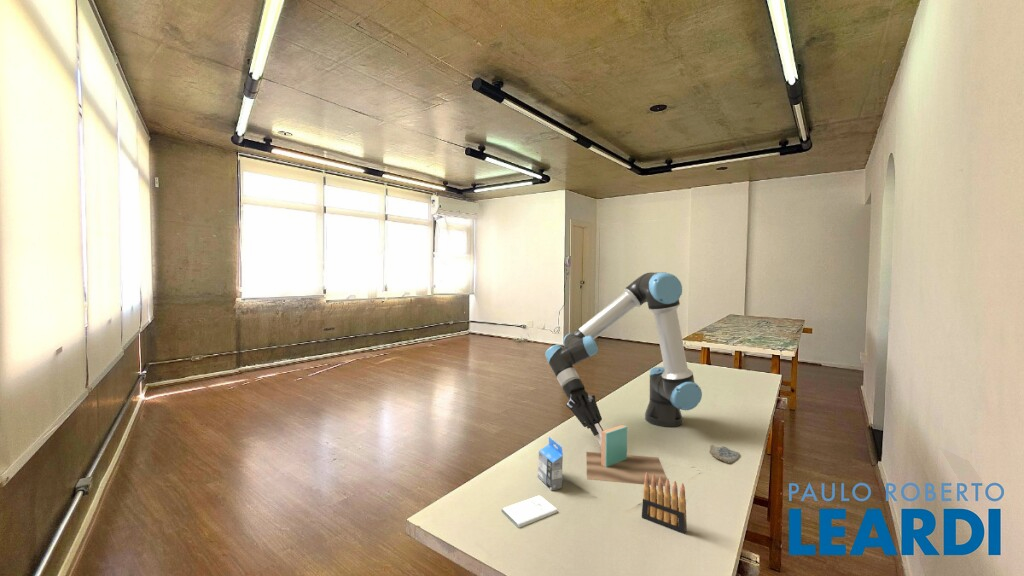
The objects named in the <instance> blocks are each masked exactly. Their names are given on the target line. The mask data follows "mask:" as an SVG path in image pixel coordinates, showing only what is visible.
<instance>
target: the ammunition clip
mask: <svg viewBox="0 0 1024 576" xmlns="http://www.w3.org/2000/svg"><path fill="white" fill-rule="evenodd" d="M642 489H643V490H642V491H643V492H642V493H643V495H642V496H643V497H642V505H641V507H642V508H641V518H642V519H643V520H646V521H649V522H651V523H654V524H657V525H659V526H661V527H665V528H667V529H670V530H673V531H675V532H677V533H680V534H683V535H686V534H687V533H686V532H687V529H688V528H687V500H686V488H685V485H684V483H683V482H682V483H681V485H680V489H679V491H678V484H677V482H676V480H674V481H673V484H672V488H671V484H670V480H669V478H667V480H666V484H665V486H663V481H662V477H661V476H660V478H659V481H658V486H656V478H655V475H654V474H653V476H652V480H651V485H649V475H648V473H647V472H646V475H645V481H644V484H643V488H642ZM671 489H672V490H671ZM678 492H679V494H678Z"/></svg>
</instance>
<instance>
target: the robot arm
mask: <svg viewBox="0 0 1024 576" xmlns="http://www.w3.org/2000/svg"><path fill="white" fill-rule="evenodd" d="M682 294H683V285H682V282H681V281H680V278H678V277H677V276H676V275H674V274H672V273H669V272H666V271H665V272H664V271H661V272H657V271H656V272H653V271H652V272H647V273H643V274H642V275H640V276H638V277H637V278H636V279H635V280H633V281H632V282H631V283H630V284H629V285H628V286H626V287H625V288H624V289H623V292H622V294H620V295H619V296H618V297H616V298H615V299H614V300H612V301H611V302H610V303H609V304H607V305H606V306H605V307H604V308H602V309H601V310H600V311H599V312H598V313H596V314H595V315H593V316H592V317H591V318H590V319H589V320H587V321H586V322H585V323H584V324H583V325H581V326H580V327H579V328H577V329H576V330H575V331H574V332H571V333H567V334H566V335H565V336H564V337H563V340H562V344H563V346H564V347H563V346H562V345H561V344H558V343H557V344H554V345H552V346H550V347H549V348H547V350H546V351H545V353H544V354H545V355H544V356H545V358H546V361H547V362H548V365H549V367H550V368H551V370H552V371H553V373H554V375H555V378H556V379H557V381H558V383H559V385H560V387H562V390H563V392H564V394H565V396H566V397H567V398H568V402H567V403H566V404H565V406H566V407H567V408H568V409H569V410H570V411H571V412H572V413H573V414H574V416H575V417H576V419H577V420H578V422H580V424H581V425H582V426H583V427H584V428H587V429H588V430H589V429H590V431H591V433H592V434H593V436H594V437H595V438H596V439H597V441H598V444H599V445H600V446H601V436H602V431H604V429H603V428H602V425H601V424H600V423H601V421H602V420H603V418H602V415H601V412H600V410H599V407H598V405H597V402H596V396H595V395H590V394H589V393H588V392H587V391H586V389H585V387H586V386H585V385H584V383H583V381H582V380H581V379H580V376H579V374H578V373H577V372H578V371H576V369H575V368H574V366H575V365H576V364H578V363H580V362H583V361H585V360H587V359H589V358H590V357H591V358H592V356H594V355H596V354H598V353H599V348H598V345H597V342H596V338H598V337H599V336H600V335H601V334H603V333H605V332H606V331H607V330H608V329H610V328H611V327H612V326H613V325H615V324H616V322H618V321H619V320H620V319H622V318H623V317H624V316H626V315H627V314H628V313H629V312H630V311H632V310H633V309H634V308H636V307H637V308H638V307H641V306H642V305H643V304H645V303H647V306H648V310H649V311H651V312H652V313H653V317H654V323H655V327H656V328H655V329H656V332H657V338H658V342H659V349H660V353H661V357H662V363H663V366H655V367H652V368H650V370H649V401H648V405H647V407H646V409H645V413H644V419H645V421H646V422H648V423H650V424H653V425H656V426H660V427H665V428H666V427H667V428H672V427H673V428H674V427H675V428H676V427H679V426H681V425H683V421H684V420H683V419H684V418H683V415H682V411H690V410H693V409H695V408H696V407H697V406H698V405H699V404H700V402H701V400H702V397H703V391H702V389H701V387H700V385H699V384H697V383H696V381H695V377H694V372H693V371H692V370H691V369H689V367H688V364H687V358H686V352H685V347H684V342H683V335H682V331H681V325H680V321H679V314H678V308H679V306H680V305H681V302H680V298H681V296H682Z"/></svg>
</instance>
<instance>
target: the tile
mask: <svg viewBox="0 0 1024 576" xmlns="http://www.w3.org/2000/svg"><path fill="white" fill-rule="evenodd" d="M600 446H601V447H600V448H601V449H600V450H601V452H600V453H601V465H603V466H605V467H608V466H611V465H613V464H616V463H618V462H621V461H623V460H626V459H627V455H628V451H627V450H628V426H626V425H624V424H621V425H617V426H614V427H611V428H608V429H605V430H604V429H603V431H602V436H601V445H600Z"/></svg>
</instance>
